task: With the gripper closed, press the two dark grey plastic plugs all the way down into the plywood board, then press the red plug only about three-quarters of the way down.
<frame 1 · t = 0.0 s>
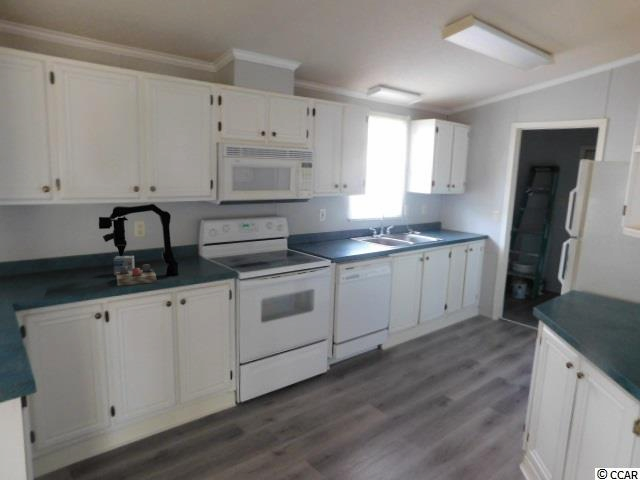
hand: (120, 254, 235), 15 cm above the worktop, tool pointing down, fingers open, 9 cm apart
plug board: (136, 280, 235), on the worktop
grey plug 2: (146, 268, 241), point 6 cm above the worktop, slide at 0.0 cm
red plug: (136, 272, 231), point 6 cm above the worktop, slide at 0.0 cm
light bulb box: (124, 274, 250), on the worktop
grey plug 1: (124, 270, 235), point 6 cm above the worktop, slide at 0.0 cm
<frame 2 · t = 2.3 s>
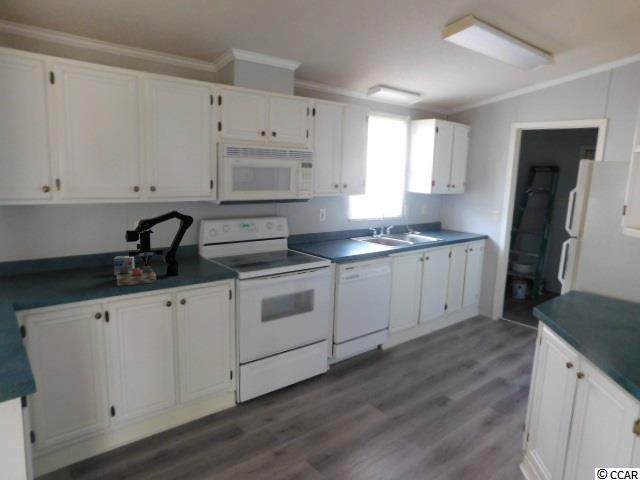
hand: (146, 266, 241), 7 cm above the worktop, tool pointing down, fingers closed, pressing on grey plug 2
grey plug 2: (146, 270, 241), point 5 cm above the worktop, slide at 1.1 cm, touching gripper
everything else where it was.
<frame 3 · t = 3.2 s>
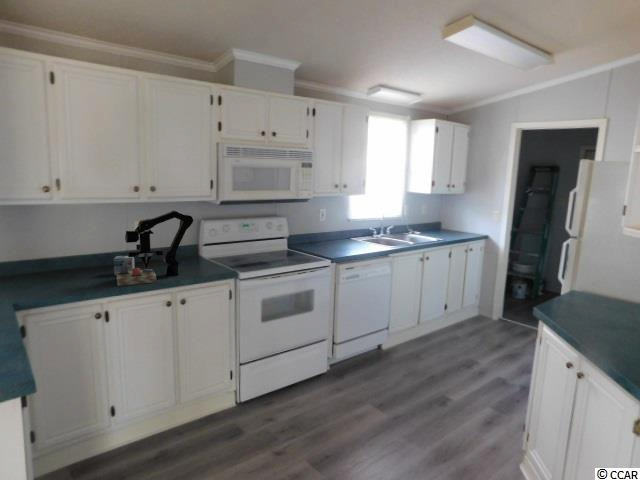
hand: (146, 267, 241), 7 cm above the worktop, tool pointing down, fingers closed
grey plug 2: (146, 273, 241), point 3 cm above the worktop, slide at 2.9 cm
everything else where it was.
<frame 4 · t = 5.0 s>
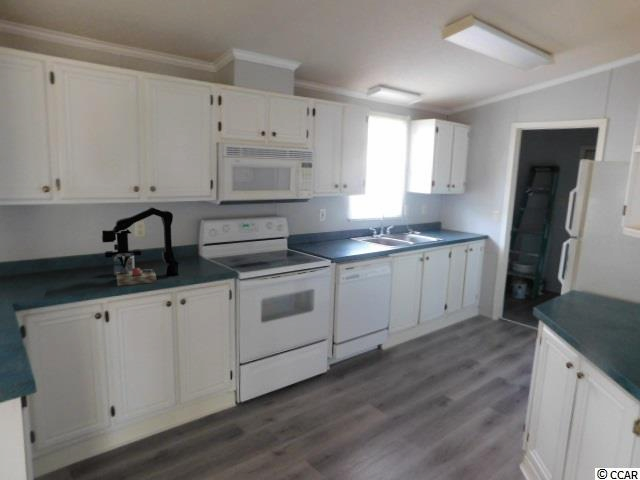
hand: (123, 267, 235), 7 cm above the worktop, tool pointing down, fingers closed, pressing on grey plug 1
grey plug 1: (124, 271, 235), point 5 cm above the worktop, slide at 0.7 cm, touching gripper
everything else where it was.
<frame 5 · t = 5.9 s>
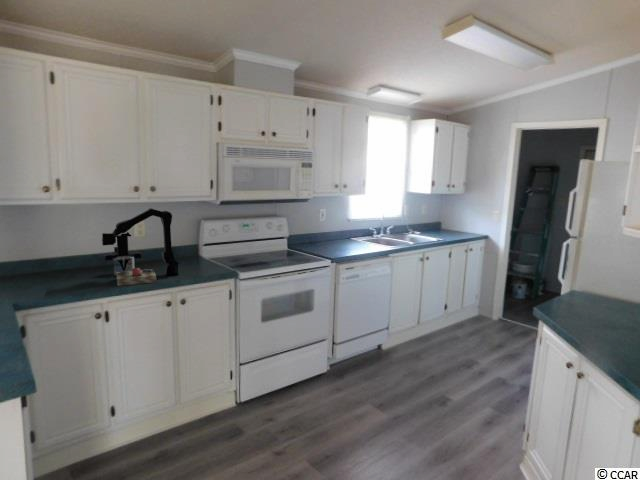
hand: (123, 270, 235), 6 cm above the worktop, tool pointing down, fingers closed
grey plug 1: (124, 275, 236), point 3 cm above the worktop, slide at 2.9 cm
everything else where it was.
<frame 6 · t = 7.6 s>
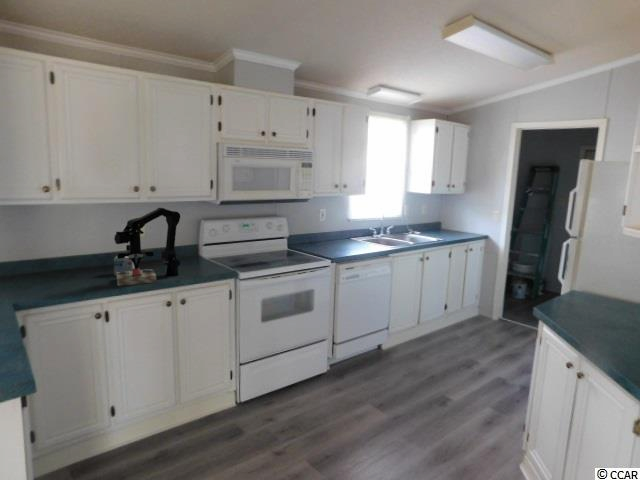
hand: (136, 268, 231), 8 cm above the worktop, tool pointing down, fingers closed, pressing on red plug
red plug: (136, 272, 231), point 6 cm above the worktop, slide at 0.2 cm, touching gripper
everything else where it was.
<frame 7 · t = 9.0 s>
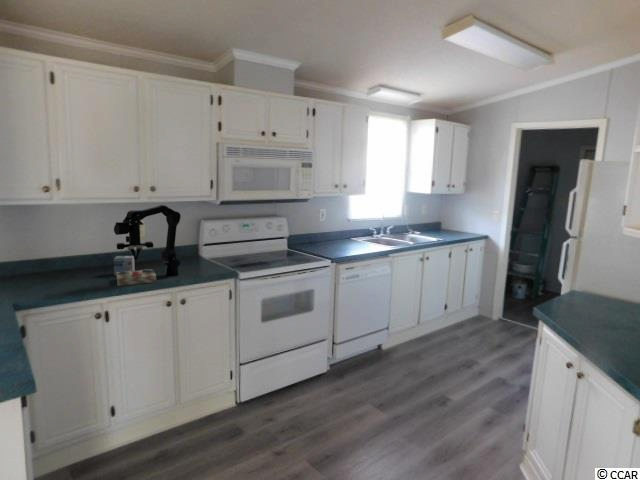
hand: (135, 260, 230), 13 cm above the worktop, tool pointing down, fingers closed
red plug: (136, 276, 231), point 4 cm above the worktop, slide at 2.1 cm
everything else where it was.
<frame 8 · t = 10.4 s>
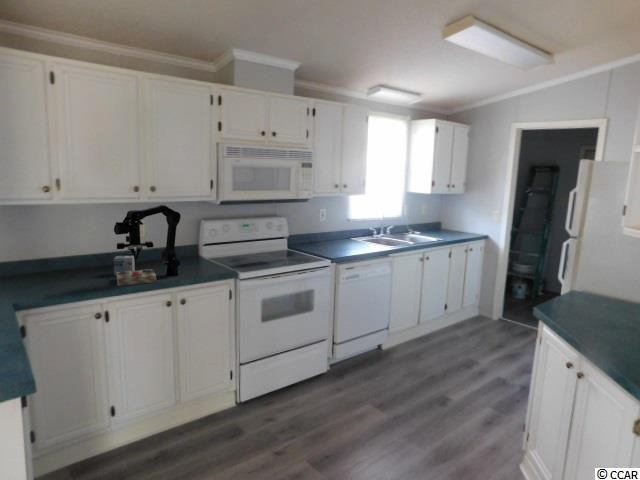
hand: (135, 260, 230), 13 cm above the worktop, tool pointing down, fingers closed
nothing on the worktop moved.
at the end: grey plug 2 slide at 2.9 cm; grey plug 1 slide at 2.9 cm; red plug slide at 2.1 cm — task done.
